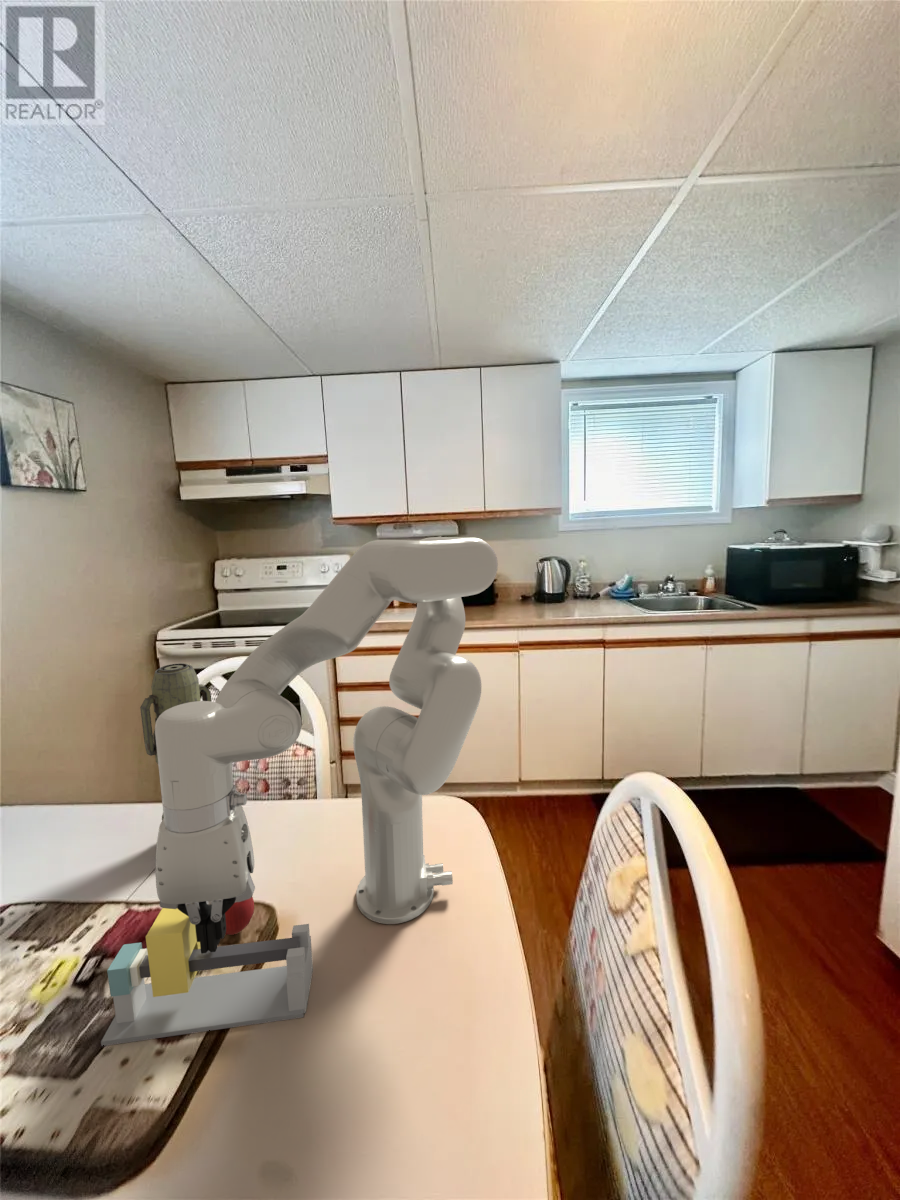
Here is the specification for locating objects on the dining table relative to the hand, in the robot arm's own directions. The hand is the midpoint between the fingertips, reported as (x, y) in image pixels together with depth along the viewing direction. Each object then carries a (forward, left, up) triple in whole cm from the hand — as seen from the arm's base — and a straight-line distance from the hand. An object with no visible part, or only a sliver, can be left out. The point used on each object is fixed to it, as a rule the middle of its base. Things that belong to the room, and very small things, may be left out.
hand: (212, 942), depth 60 cm
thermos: (+16, -35, -9) cm, 40 cm away
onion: (+1, -11, -9) cm, 14 cm away
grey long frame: (0, 0, -9) cm, 9 cm away
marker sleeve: (+4, 0, -4) cm, 6 cm away
